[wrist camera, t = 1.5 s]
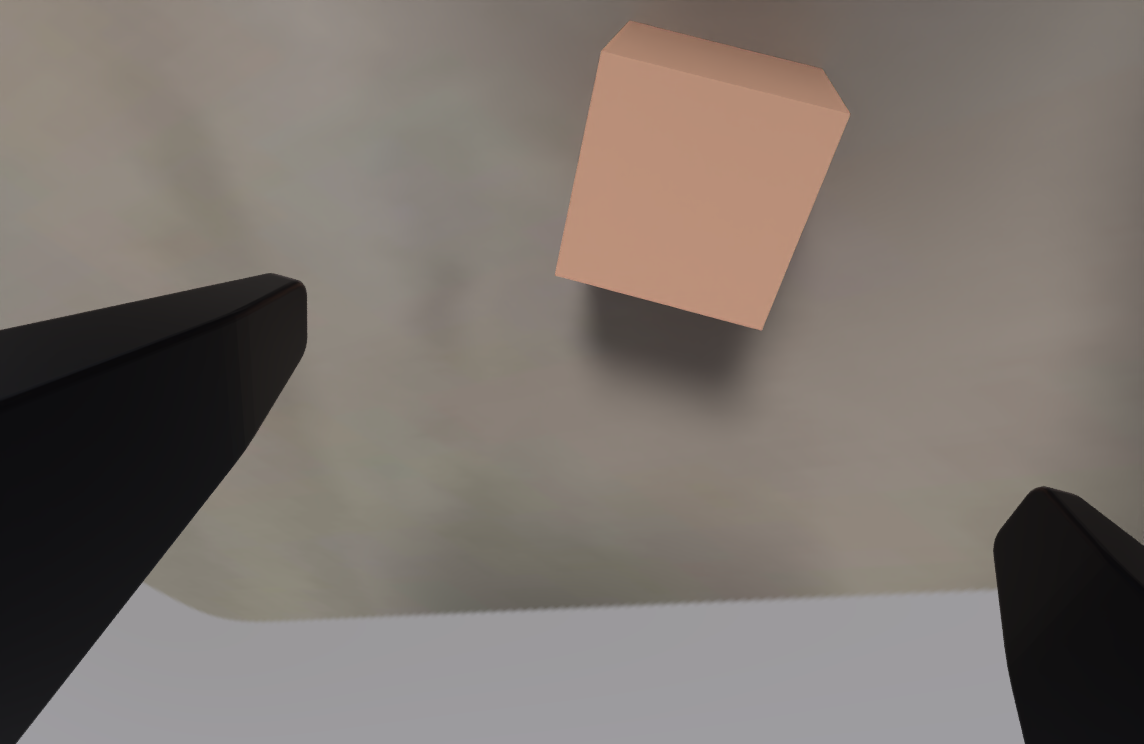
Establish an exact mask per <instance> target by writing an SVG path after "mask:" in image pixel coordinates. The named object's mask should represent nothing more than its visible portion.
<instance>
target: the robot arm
mask: <svg viewBox="0 0 1144 744" xmlns="http://www.w3.org/2000/svg"><path fill="white" fill-rule="evenodd" d="M306 344H307V292H306V288H305V286H304V285H303V283H302V282H301V281H299V280H296V279H292V278H289V277H285V276H281V275H278V274H273V273H267V274H262V275H258V276H253V277H248V278H244V279H239V280H234V281H229V282H225V283H220V284H215V285H211V286H206V287H201V288H196V289H192V290H187V291H182V292H178V293H173V294H168V295H163V296H159V297H154V298H149V299H145V300H140V301H135V302H130V303H126V304H121V305H116V306H112V307H107V308H102V309H97V310H93V311H88V312H83V313H78V314H74V315H69V316H64V317H60V318H55V319H50V320H45V321H41V322H36V323H31V324H27V325H22V326H17V327H12V328H8V329H3V330H0V744H16V743H17V742H18V740H19V739H20V738H21V737H22V735H23V734H24V733H25V732H26V730H27V729H28V728H29V726H30V725H31V724H32V723H33V721H34V720H35V719H36V718H37V716H38V715H39V714H40V712H41V711H42V710H43V709H44V707H45V706H46V705H47V703H48V702H49V701H50V700H51V698H52V697H53V696H54V695H55V693H56V692H57V691H58V689H59V688H60V687H61V685H62V684H63V683H64V682H65V680H66V679H67V678H68V677H69V675H70V674H71V673H72V672H73V670H74V669H75V668H76V666H77V665H78V664H79V662H80V661H81V660H82V659H83V657H84V656H85V655H86V654H87V652H88V651H89V650H90V649H91V647H92V646H93V645H94V643H95V642H96V641H97V639H98V638H99V637H100V636H101V635H102V633H103V632H104V631H105V629H106V628H107V627H108V626H109V624H110V623H111V622H112V620H113V619H114V618H115V617H116V615H117V614H118V613H119V611H120V610H121V609H122V608H123V606H124V605H125V604H126V603H127V601H128V600H129V599H130V597H131V596H132V595H133V594H134V592H135V591H136V590H137V589H138V587H139V586H140V585H141V583H142V582H143V581H144V580H145V578H146V577H147V576H148V574H149V573H150V572H151V571H152V569H153V568H154V567H155V566H156V564H157V563H158V562H159V560H160V559H161V558H162V557H163V555H164V554H165V553H166V552H167V550H168V549H169V548H170V546H171V545H172V544H173V543H174V541H175V540H176V539H177V537H178V536H179V535H180V534H181V532H182V531H183V530H184V529H185V527H186V526H187V525H188V523H189V522H190V521H191V520H192V518H193V517H194V516H195V514H196V513H197V512H198V511H199V509H200V508H201V507H202V506H203V504H204V503H205V502H206V500H207V499H208V498H209V497H210V495H211V494H212V493H213V491H214V490H215V489H216V488H217V486H218V485H219V484H220V483H221V481H222V480H223V479H224V477H225V476H226V475H227V474H228V472H229V471H230V470H231V469H232V467H233V466H234V465H235V463H236V462H237V461H238V459H239V458H240V457H241V455H242V454H243V453H244V451H245V450H246V448H247V447H248V445H249V444H250V442H251V441H252V439H253V438H254V436H255V434H256V433H257V431H258V430H259V428H260V426H261V425H262V423H263V421H264V420H265V418H266V416H267V415H268V413H269V411H270V410H271V408H272V406H273V405H274V403H275V401H276V400H277V398H278V396H279V395H280V393H281V391H282V390H283V388H284V387H285V385H286V383H287V382H288V380H289V378H290V377H291V375H292V373H293V372H294V370H295V368H296V367H297V365H298V363H299V362H300V360H301V358H302V356H303V354H304V352H305V348H306ZM993 554H994V563H995V571H996V579H997V588H998V596H999V605H1000V613H1001V621H1002V629H1003V638H1004V647H1005V653H1006V660H1007V667H1008V671H1009V677H1010V682H1011V686H1012V691H1013V695H1014V699H1015V704H1016V708H1017V712H1018V717H1019V721H1020V725H1021V729H1022V734H1023V738H1024V742H1025V744H1144V546H1143V545H1142V544H1141V543H1139V542H1138V541H1137V540H1135V539H1134V538H1133V537H1132V536H1130V535H1129V534H1128V533H1126V532H1125V531H1124V530H1122V529H1121V528H1120V527H1119V526H1117V525H1116V524H1115V523H1113V522H1112V521H1111V520H1109V519H1108V518H1107V517H1105V516H1104V515H1103V514H1102V513H1100V512H1099V511H1098V510H1096V509H1095V508H1094V507H1092V506H1091V505H1090V504H1089V503H1087V502H1086V501H1085V500H1083V499H1082V498H1080V497H1079V496H1077V495H1074V494H1072V493H1068V492H1064V491H1061V490H1057V489H1053V488H1050V487H1045V486H1042V487H1037V488H1035V489H1033V490H1032V491H1030V493H1029V494H1028V495H1027V496H1026V497H1025V498H1024V500H1023V501H1022V502H1021V504H1020V505H1019V506H1018V507H1017V509H1016V510H1015V511H1014V512H1013V514H1012V515H1011V516H1010V518H1009V519H1008V520H1007V521H1006V523H1005V524H1004V525H1003V527H1002V528H1001V529H1000V530H999V532H998V534H997V536H996V538H995V542H994V548H993Z"/></svg>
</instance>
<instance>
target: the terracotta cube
mask: <svg viewBox="0 0 1144 744" xmlns="http://www.w3.org/2000/svg"><path fill="white" fill-rule="evenodd" d="M849 116H850V112H849V111H848V109H847V108H846V106H845V104H844V103H843V101H842V100H841V98H840V96H839V95H838V93H837V92H836V90H835V88H834V87H833V85H832V84H831V82H830V80H829V79H828V77H827V76H826V74H825V72H824V71H823V69H821V68H817V67H813V66H809V65H805V64H801V63H797V62H793V61H789V60H785V59H781V58H777V57H773V56H769V55H765V54H761V53H757V52H753V51H749V50H745V49H741V48H737V47H733V46H729V45H725V44H721V43H717V42H713V41H709V40H705V39H701V38H697V37H693V36H689V35H685V34H681V33H677V32H673V31H669V30H665V29H661V28H657V27H653V26H649V25H645V24H641V23H637V22H633V21H629V22H628V23H627V24H626V25H625V26H624V27H623V28H622V29H621V30H620V31H619V32H618V33H617V34H616V36H615V37H614V38H613V39H612V40H611V41H610V42H609V43H608V44H607V45H606V46H605V47H604V49H603V50H602V51H601V54H600V59H599V64H598V69H597V74H596V79H595V83H594V88H593V93H592V98H591V103H590V108H589V112H588V117H587V122H586V127H585V132H584V137H583V141H582V146H581V151H580V156H579V161H578V166H577V170H576V175H575V180H574V185H573V190H572V194H571V199H570V204H569V209H568V214H567V219H566V223H565V228H564V233H563V238H562V243H561V248H560V252H559V257H558V262H557V267H556V272H555V276H559V277H563V278H567V279H570V280H574V281H578V282H581V283H585V284H589V285H593V286H596V287H600V288H604V289H608V290H611V291H615V292H619V293H623V294H626V295H630V296H634V297H638V298H641V299H645V300H649V301H653V302H656V303H660V304H664V305H668V306H671V307H675V308H679V309H683V310H686V311H690V312H694V313H698V314H701V315H705V316H709V317H713V318H716V319H720V320H724V321H728V322H731V323H735V324H739V325H743V326H746V327H750V328H754V329H758V330H761V331H762V329H763V326H764V324H765V321H766V319H767V316H768V314H769V312H770V309H771V307H772V304H773V302H774V299H775V297H776V294H777V292H778V290H779V287H780V285H781V282H782V280H783V277H784V275H785V273H786V270H787V268H788V265H789V263H790V260H791V258H792V255H793V253H794V251H795V248H796V246H797V243H798V241H799V238H800V236H801V234H802V231H803V229H804V226H805V224H806V221H807V219H808V216H809V214H810V212H811V209H812V207H813V204H814V202H815V199H816V197H817V194H818V192H819V190H820V187H821V185H822V182H823V180H824V177H825V175H826V173H827V170H828V168H829V165H830V163H831V160H832V158H833V155H834V153H835V151H836V148H837V146H838V143H839V141H840V138H841V136H842V134H843V131H844V129H845V126H846V124H847V121H848V119H849Z"/></svg>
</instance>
